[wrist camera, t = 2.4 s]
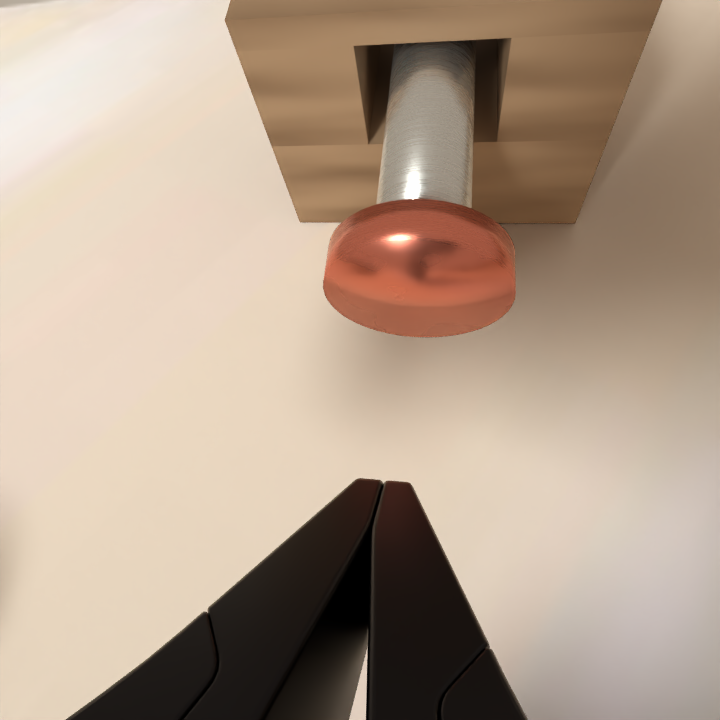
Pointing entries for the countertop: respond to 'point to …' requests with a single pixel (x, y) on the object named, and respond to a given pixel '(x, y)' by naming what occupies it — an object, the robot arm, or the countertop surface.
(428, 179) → the steel pin
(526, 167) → the hitch block
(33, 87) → the countertop surface
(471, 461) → the countertop surface
